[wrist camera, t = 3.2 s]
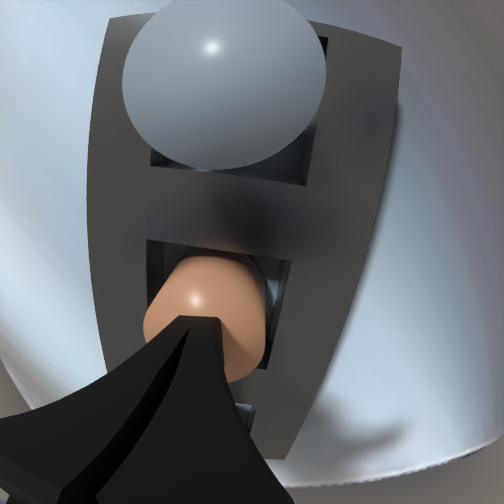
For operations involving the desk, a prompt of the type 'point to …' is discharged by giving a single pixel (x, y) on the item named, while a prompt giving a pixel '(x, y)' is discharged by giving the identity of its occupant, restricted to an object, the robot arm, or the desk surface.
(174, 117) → the slate button
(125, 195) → the button panel
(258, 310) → the orange rounded block
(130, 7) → the desk surface
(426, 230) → the desk surface
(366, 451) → the desk surface
